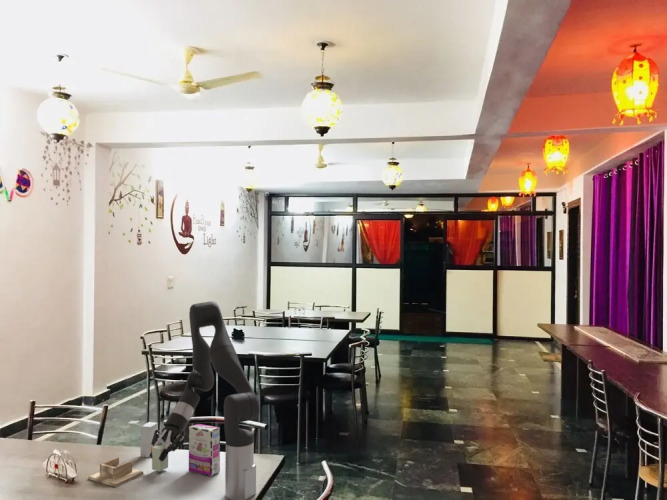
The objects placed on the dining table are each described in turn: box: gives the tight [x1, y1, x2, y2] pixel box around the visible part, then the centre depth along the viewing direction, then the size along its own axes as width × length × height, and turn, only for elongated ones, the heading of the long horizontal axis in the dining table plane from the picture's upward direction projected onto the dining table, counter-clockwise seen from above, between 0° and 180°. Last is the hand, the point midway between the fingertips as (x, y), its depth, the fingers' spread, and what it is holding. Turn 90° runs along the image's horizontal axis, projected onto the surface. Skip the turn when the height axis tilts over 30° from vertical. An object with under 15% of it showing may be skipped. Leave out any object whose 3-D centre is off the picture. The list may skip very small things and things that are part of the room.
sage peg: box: [151, 443, 169, 472], centre depth 193 cm, size 4×4×8 cm
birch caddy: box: [87, 456, 144, 488], centre depth 187 cm, size 14×12×5 cm
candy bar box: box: [188, 423, 221, 477], centre depth 192 cm, size 11×5×16 cm, turn 62°
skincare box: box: [139, 421, 159, 458], centre depth 209 cm, size 6×4×12 cm
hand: (156, 458), depth 191 cm, fingers closed on sage peg, 4 cm apart
